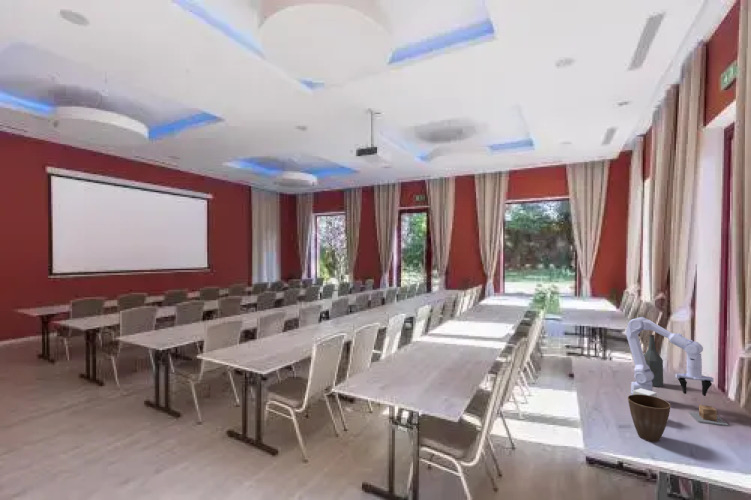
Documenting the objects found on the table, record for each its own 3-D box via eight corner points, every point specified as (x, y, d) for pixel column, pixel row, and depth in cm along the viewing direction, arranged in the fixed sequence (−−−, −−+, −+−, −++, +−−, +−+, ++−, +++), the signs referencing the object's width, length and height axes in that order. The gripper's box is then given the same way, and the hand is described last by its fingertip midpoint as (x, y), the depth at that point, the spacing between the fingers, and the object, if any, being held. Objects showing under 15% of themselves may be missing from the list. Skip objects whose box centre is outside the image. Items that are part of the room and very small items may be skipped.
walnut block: (703, 419, 176) (703, 408, 176) (699, 415, 181) (698, 404, 181) (716, 421, 174) (716, 410, 174) (712, 416, 179) (712, 406, 179)
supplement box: (649, 422, 176) (648, 395, 176) (632, 416, 182) (632, 390, 182) (657, 418, 179) (657, 392, 179) (640, 412, 186) (640, 387, 186)
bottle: (662, 383, 226) (661, 333, 227) (664, 388, 218) (663, 337, 218) (641, 380, 232) (640, 332, 232) (642, 385, 224) (641, 335, 224)
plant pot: (680, 443, 156) (679, 405, 156) (653, 449, 152) (653, 410, 152) (645, 427, 170) (644, 392, 170) (620, 432, 166) (619, 396, 166)
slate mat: (698, 422, 175) (698, 421, 175) (689, 412, 185) (689, 411, 185) (728, 426, 171) (728, 425, 171) (717, 416, 181) (717, 415, 181)
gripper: (678, 367, 184) (679, 395, 184) (716, 371, 178) (716, 399, 178) (673, 363, 191) (674, 390, 191) (709, 366, 185) (710, 394, 185)
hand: (694, 394), depth 185 cm, fingers open, 7 cm apart
